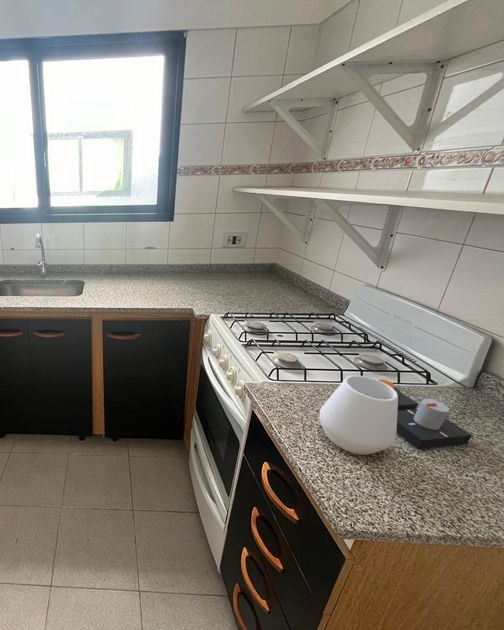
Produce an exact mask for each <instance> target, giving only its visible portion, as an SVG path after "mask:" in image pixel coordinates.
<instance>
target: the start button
mask: <svg viewBox="0 0 504 630" xmlns="http://www.w3.org/2000/svg"><path fill="white" fill-rule="evenodd" d="M377 380H378V381H381V382H383V383H385V384H387V385H388V386H390V387H392V388H393V389H395V387H396V384H394V383H393V382H391V381H389V380H387V379H386V380H385V379H377Z"/></svg>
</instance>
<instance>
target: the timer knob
mask: <svg viewBox="0 0 504 630" xmlns="http://www.w3.org/2000/svg"><path fill="white" fill-rule="evenodd" d="M417 409H418V410H417V412H416V414H415V416H414V418H413V419H414V421H415V422H416V423H418V424H419V425H421V426H423V427H425V428H428V429H432V430H438V429H440V427H441V425H442V423H443V421H444V419H445V418H446V417H447V416H448V414H449V412H450V408H449V406H448V405H447V404H445V403H443V402H441V401H438V400H436V399H432V398H423V399H422V400H421V402H420V404H419V405H418V407H417ZM446 419H447V418H446Z"/></svg>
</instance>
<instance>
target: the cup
mask: <svg viewBox="0 0 504 630" xmlns="http://www.w3.org/2000/svg"><path fill="white" fill-rule="evenodd" d="M378 380H379V379H376V378H373V377H369V376H364V375H355V374H354V375H349V376H346V378H344V380H343V381H342V382H341V383H340V384H339V385H338V387H337V388H336V389H335V390H334V392H333V393H332V394H331V395H330V396H329V398H328V399H327V400H326V401H325V402H324V404H323V405H322V406H321V407H320V409H319V422H320V424H321V427H322V430H323V432H324V433H325V435H326V437H327V438H328V440H329V441H331V443H333V444H334V445H335V446H336V447H338V448H340V449H342V450H344V451H346V452H349V453H351V454H355V455H362V456H368V455H372V454H375V453H378V452H382V451H384V450H387V449H389V448H390V447H391V446H392V445H393V444H394V443H395V441H396V440H397V433H396V430H397V410H398V395H397V392H396V391H395V390H394V389H393V388H392V387H390V386H388V385H387V384H385V383H383V382H381V381H378Z"/></svg>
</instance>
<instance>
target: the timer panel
mask: <svg viewBox="0 0 504 630" xmlns="http://www.w3.org/2000/svg"><path fill="white" fill-rule="evenodd" d="M417 410H418V408H416V409H412V410H402V411H397V430H396V434H397V435H399V436H400V437H402V438H403V439H404V440H405V441H407V442H408V443H409V444H411V445H412V446H413V447H414V448H416V449H417V450H423V449H430V448H431V449H432V448H441V447H450V446H459V445H468V443H469V442H470V440H471V438H472V436H473V434H471V433H470V432H469V431H467V430H465V429H464V428H462V427H461V426H458V424H456V423H454V422H453V421H450V419H448V418H445V419H444V421H443V423H442V425H441V427H440V429H438V430H432V429H428V428H425V427H423V426H421V425H419V424H418V423H416V422H415V421H414V419H413V418H414V416H415V414H416V412H417Z"/></svg>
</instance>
